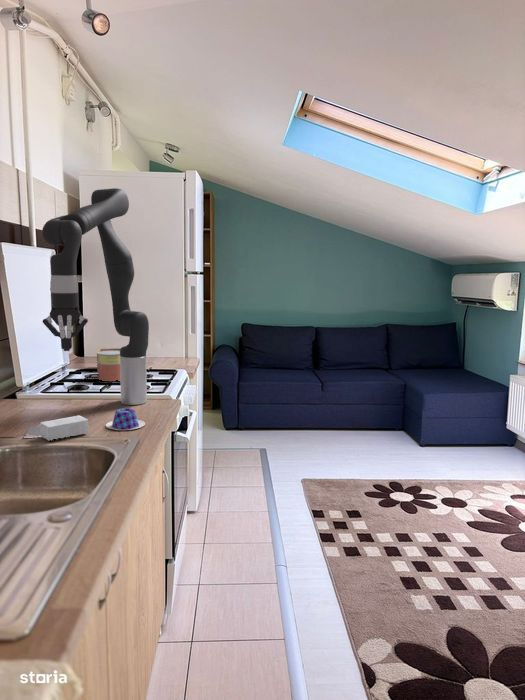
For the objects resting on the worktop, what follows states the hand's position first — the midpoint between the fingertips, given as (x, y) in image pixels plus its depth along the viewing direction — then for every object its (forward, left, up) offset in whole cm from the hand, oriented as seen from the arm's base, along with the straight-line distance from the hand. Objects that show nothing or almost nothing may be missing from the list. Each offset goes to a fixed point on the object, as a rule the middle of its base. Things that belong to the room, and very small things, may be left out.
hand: (66, 350), depth 160 cm
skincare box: (+1, +5, -22) cm, 23 cm away
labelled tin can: (-98, +14, -25) cm, 102 cm away
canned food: (-74, +10, -25) cm, 79 cm away
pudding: (-4, +16, -25) cm, 30 cm away
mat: (0, -5, -25) cm, 25 cm away
